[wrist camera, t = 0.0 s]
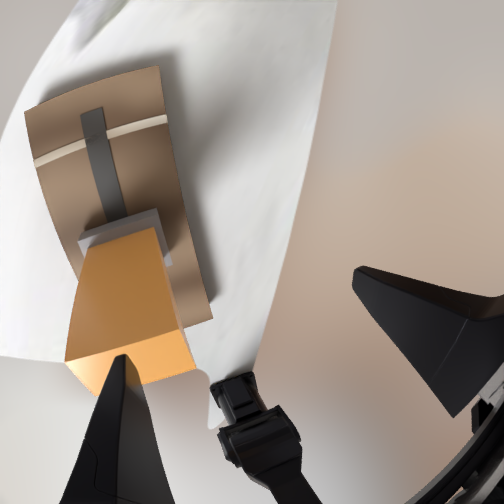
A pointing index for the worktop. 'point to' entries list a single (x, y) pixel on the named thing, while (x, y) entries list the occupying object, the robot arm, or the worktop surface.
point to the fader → (126, 304)
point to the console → (115, 172)
